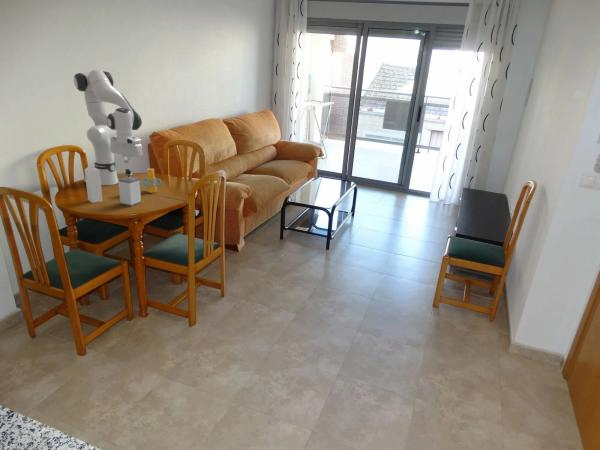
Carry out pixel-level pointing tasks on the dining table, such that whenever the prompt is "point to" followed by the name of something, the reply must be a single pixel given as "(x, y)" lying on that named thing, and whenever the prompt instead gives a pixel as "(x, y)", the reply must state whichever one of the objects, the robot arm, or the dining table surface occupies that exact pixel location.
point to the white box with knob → (130, 191)
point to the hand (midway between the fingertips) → (127, 162)
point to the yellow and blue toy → (151, 181)
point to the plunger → (128, 173)
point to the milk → (93, 184)
